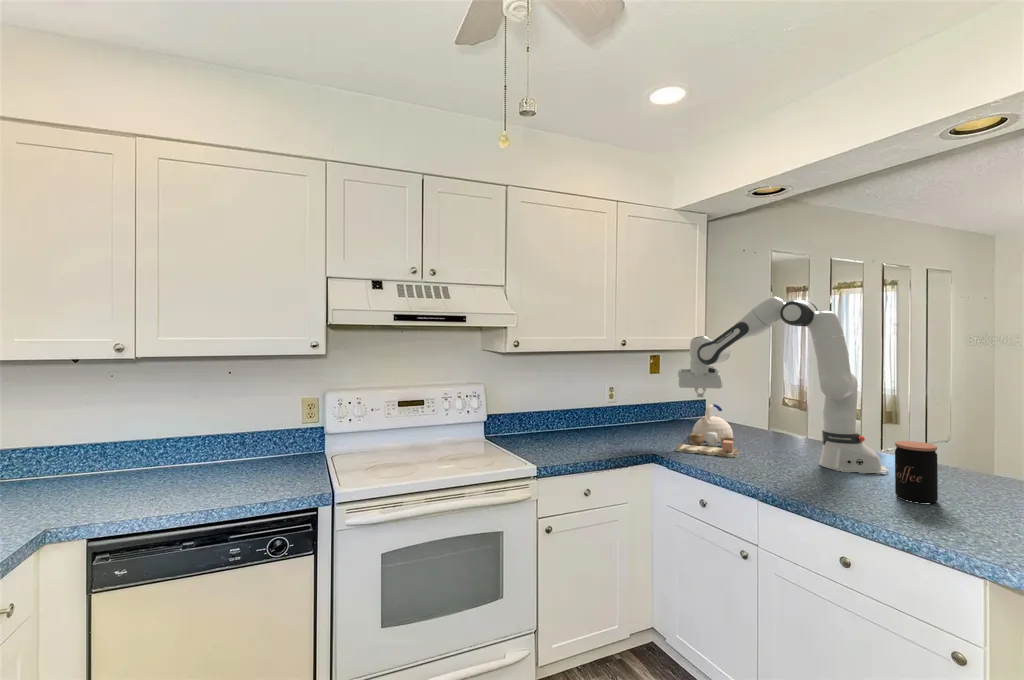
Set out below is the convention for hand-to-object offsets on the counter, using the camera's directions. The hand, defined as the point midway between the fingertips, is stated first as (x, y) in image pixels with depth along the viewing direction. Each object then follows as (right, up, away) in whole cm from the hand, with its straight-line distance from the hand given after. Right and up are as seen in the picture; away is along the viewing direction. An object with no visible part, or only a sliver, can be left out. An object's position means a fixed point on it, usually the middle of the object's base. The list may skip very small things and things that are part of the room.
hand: (700, 397), depth 237 cm
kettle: (+12, -24, +16) cm, 31 cm away
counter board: (-3, -24, -14) cm, 28 cm away
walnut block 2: (+11, -24, -4) cm, 27 cm away
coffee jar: (+39, -24, -80) cm, 92 cm away
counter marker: (+5, -22, -19) cm, 30 cm away
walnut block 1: (-1, -24, +3) cm, 24 cm away
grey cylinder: (+5, -24, 0) cm, 24 cm away
